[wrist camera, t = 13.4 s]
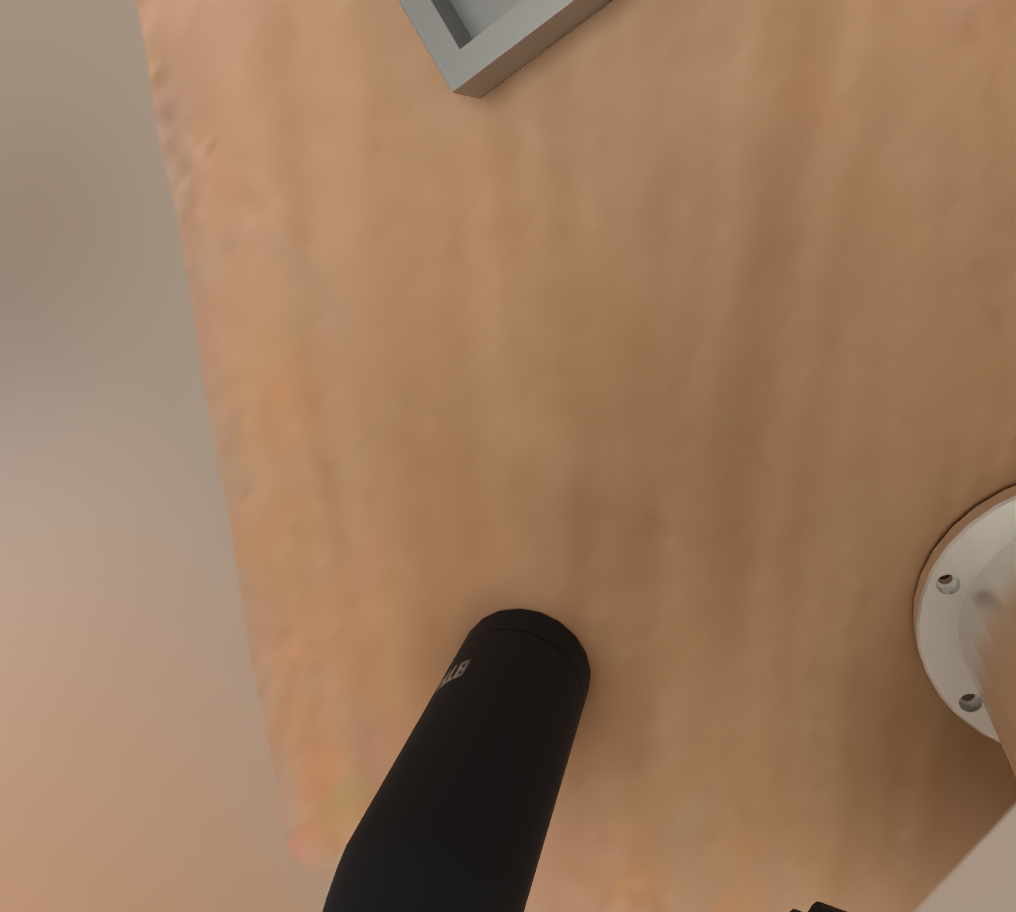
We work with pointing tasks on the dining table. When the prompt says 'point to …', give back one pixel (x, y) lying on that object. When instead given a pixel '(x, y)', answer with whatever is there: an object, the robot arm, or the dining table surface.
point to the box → (491, 35)
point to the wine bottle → (473, 778)
